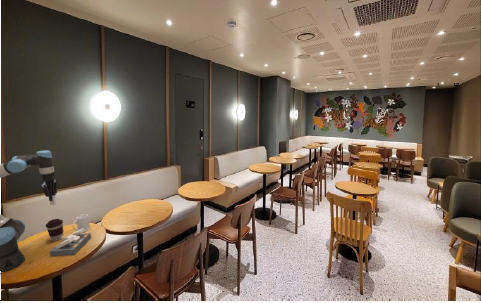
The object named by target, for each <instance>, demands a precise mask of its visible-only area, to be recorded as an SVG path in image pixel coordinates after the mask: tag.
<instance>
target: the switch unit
mask: <svg viewBox="0 0 481 303" xmlns="http://www.w3.org/2000/svg"><path fill="white" fill-rule="evenodd" d="M76 236H80V239H79V240H78V241H77V242H71V243H69V244H67V245H64V246H62V247H60V248H58V249H56V245H55V246H54V247H52V249H51V250H49V256H50V257H62V256H63V257H64V256H75V255H76V254H77V253H78V252H79V251H80V250H81V249H82V248H84V247H85V245H86V244H87V243H88V242H89V241H90V240H91V239H92V234H91V233H90V232H89V233H86V232H85V233H81V234H79V235H76ZM62 241H65V240H62V239H61V241H60V242H62ZM83 246H84V247H83Z"/></svg>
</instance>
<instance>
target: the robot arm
mask: <svg viewBox="0 0 481 303" xmlns="http://www.w3.org/2000/svg"><path fill="white" fill-rule="evenodd" d="M35 153H36V154H24V155H15V156H13V157H12V158H11V160H9V161H6V162H3V163H0V179H1V178H3V177H6V176H10V175H12V174H17V173H21V172H23V171H24V170H25V169H27V168H29V167H36V166H38V169H39V170H38V171H39V173H40V179H41V180H42V183H43V184H40V188H41V189H42V191H43V194H44V196H45V198H46V197H47V198H48V201H49V205H50V206H55V205H57V203H56V195H57V193H58V179H55V178H56V173H55V167H54V161H53V156H52V151H51V150H46V149H45V150H39V151H36V152H35ZM25 230H26V224H25V222H23V220H21V219H14V218H12V217H11V216H9V217H5V216H4V215H2V214H1V213H0V271H1V272H4V273H7V272H9V271H12V270H14V269H16V268H18V267H20V265H23V263H25V260H26V256H25V255H24V254H23V253H22V251H20V248H19V244H18V240H20V238H21V236H22V235H23V234H24V233H25Z"/></svg>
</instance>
